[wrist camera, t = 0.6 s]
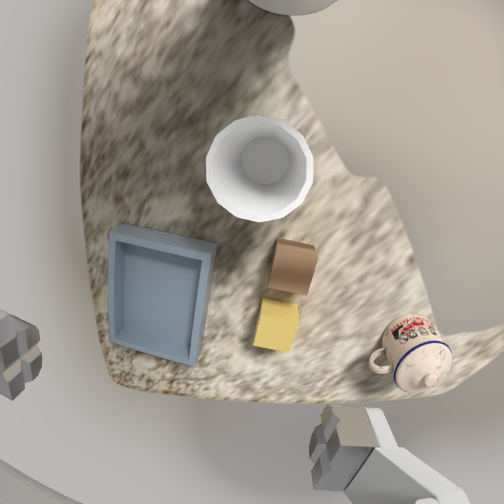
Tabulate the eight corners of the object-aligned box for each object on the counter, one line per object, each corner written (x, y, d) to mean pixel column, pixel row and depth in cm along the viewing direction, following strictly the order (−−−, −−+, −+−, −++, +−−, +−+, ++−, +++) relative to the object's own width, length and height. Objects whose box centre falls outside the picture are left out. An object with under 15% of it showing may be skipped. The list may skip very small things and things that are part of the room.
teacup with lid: (433, 305, 44) (465, 347, 33) (429, 351, 47) (454, 396, 36) (361, 320, 46) (379, 369, 35) (362, 366, 49) (377, 417, 38)
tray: (124, 223, 44) (109, 231, 40) (218, 243, 44) (211, 254, 39) (121, 327, 50) (109, 341, 46) (201, 349, 50) (194, 366, 45)
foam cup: (237, 203, 42) (219, 231, 29) (220, 134, 39) (193, 131, 27) (310, 188, 40) (324, 209, 28) (294, 117, 37) (301, 105, 25)
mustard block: (262, 297, 46) (260, 314, 41) (297, 304, 46) (298, 322, 41) (255, 326, 48) (253, 345, 43) (288, 332, 47) (289, 352, 43)
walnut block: (277, 237, 43) (276, 249, 38) (313, 245, 43) (317, 258, 38) (268, 271, 44) (267, 287, 40) (304, 279, 44) (306, 295, 40)
